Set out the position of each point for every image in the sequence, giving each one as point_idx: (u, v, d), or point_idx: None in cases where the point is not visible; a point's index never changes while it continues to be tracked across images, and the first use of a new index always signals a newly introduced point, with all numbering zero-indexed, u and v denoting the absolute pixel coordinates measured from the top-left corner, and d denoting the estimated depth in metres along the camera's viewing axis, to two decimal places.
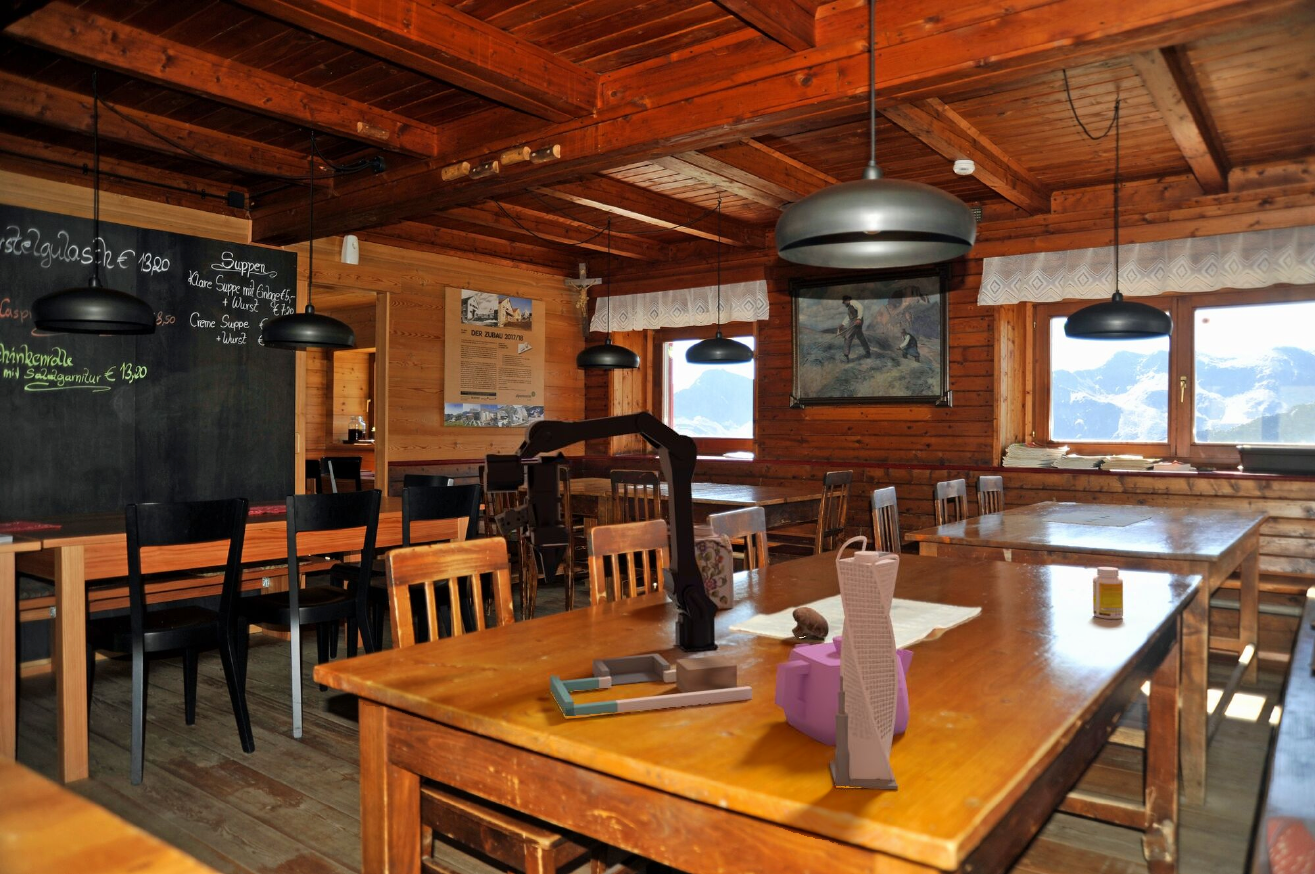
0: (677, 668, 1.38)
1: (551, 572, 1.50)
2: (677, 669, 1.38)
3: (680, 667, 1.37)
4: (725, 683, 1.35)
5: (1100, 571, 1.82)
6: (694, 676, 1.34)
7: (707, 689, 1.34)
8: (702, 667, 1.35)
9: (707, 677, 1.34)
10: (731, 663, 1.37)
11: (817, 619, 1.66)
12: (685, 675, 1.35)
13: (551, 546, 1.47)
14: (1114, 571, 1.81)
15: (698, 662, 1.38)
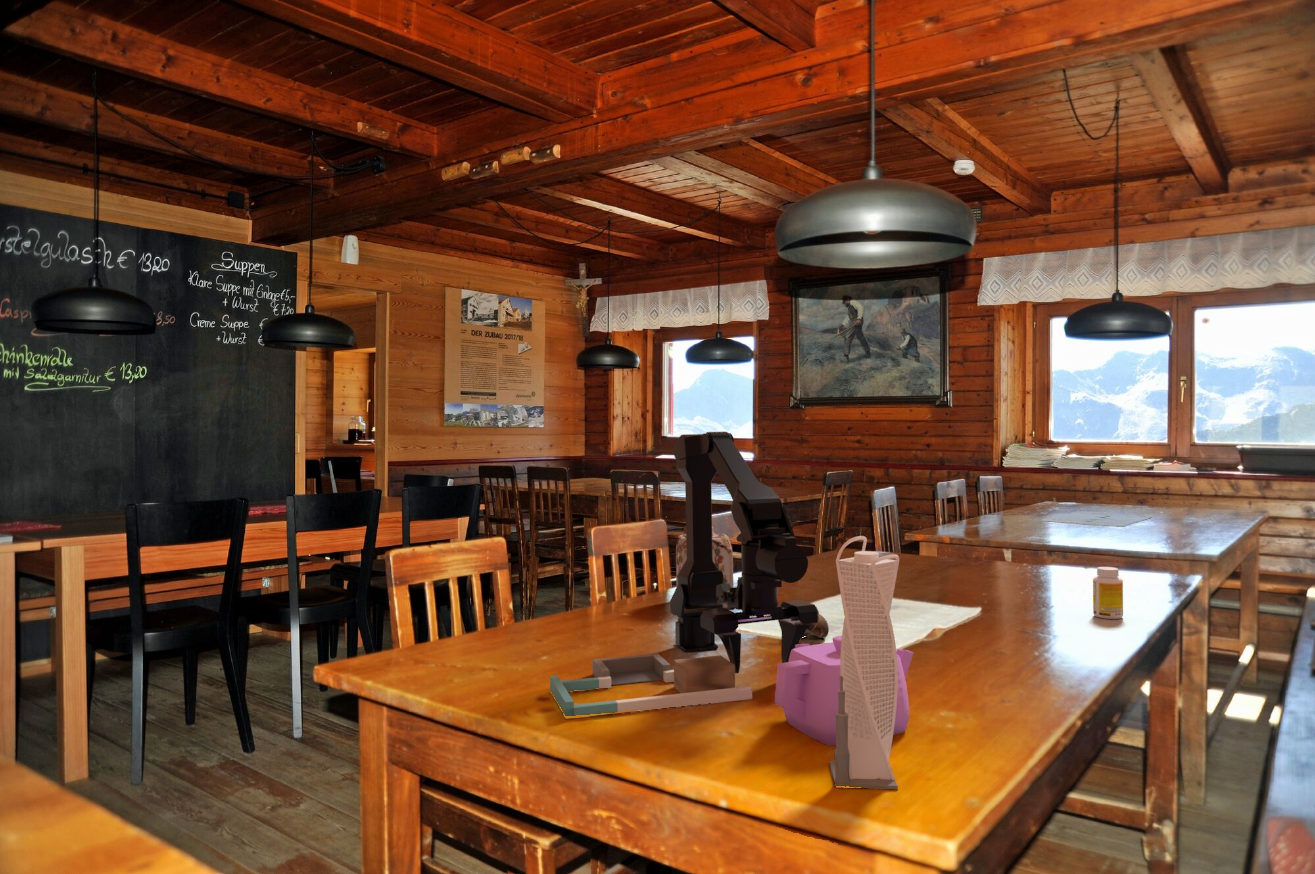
0: (675, 668, 1.38)
1: (732, 662, 1.38)
2: (675, 669, 1.38)
3: (678, 667, 1.37)
4: (724, 683, 1.35)
5: (1100, 571, 1.82)
6: (692, 676, 1.34)
7: (705, 689, 1.34)
8: (700, 667, 1.35)
9: (705, 677, 1.34)
10: (729, 663, 1.37)
11: None
12: (683, 675, 1.34)
13: None
14: (1114, 571, 1.81)
15: (696, 662, 1.37)
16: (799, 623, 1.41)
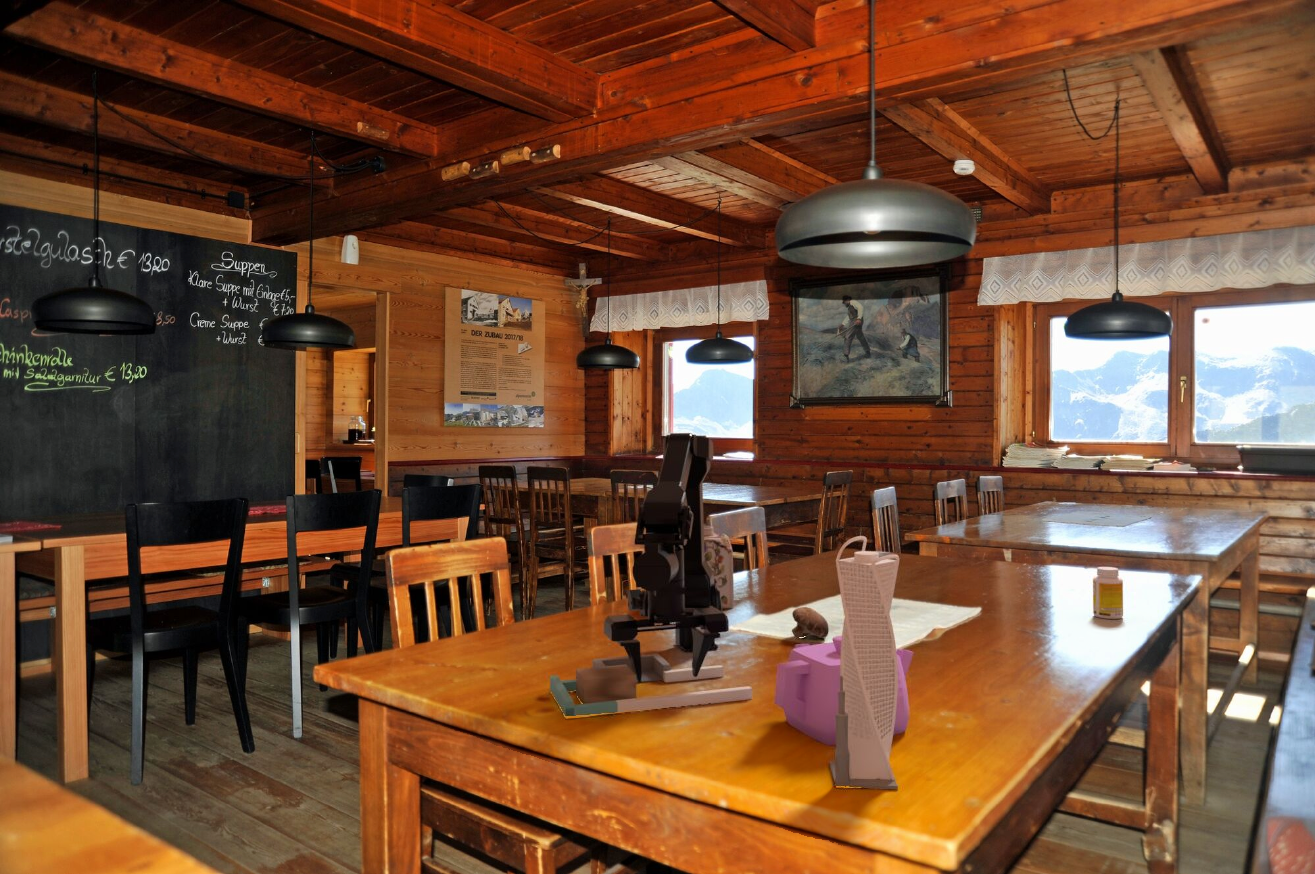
0: (577, 678, 1.34)
1: (634, 670, 1.34)
2: (576, 679, 1.34)
3: (578, 677, 1.33)
4: (624, 693, 1.31)
5: (1100, 571, 1.82)
6: (591, 686, 1.29)
7: (604, 700, 1.30)
8: (599, 677, 1.30)
9: (604, 687, 1.30)
10: (630, 672, 1.32)
11: (816, 619, 1.66)
12: (582, 685, 1.30)
13: None
14: (1114, 571, 1.81)
15: (597, 671, 1.33)
16: (709, 632, 1.36)
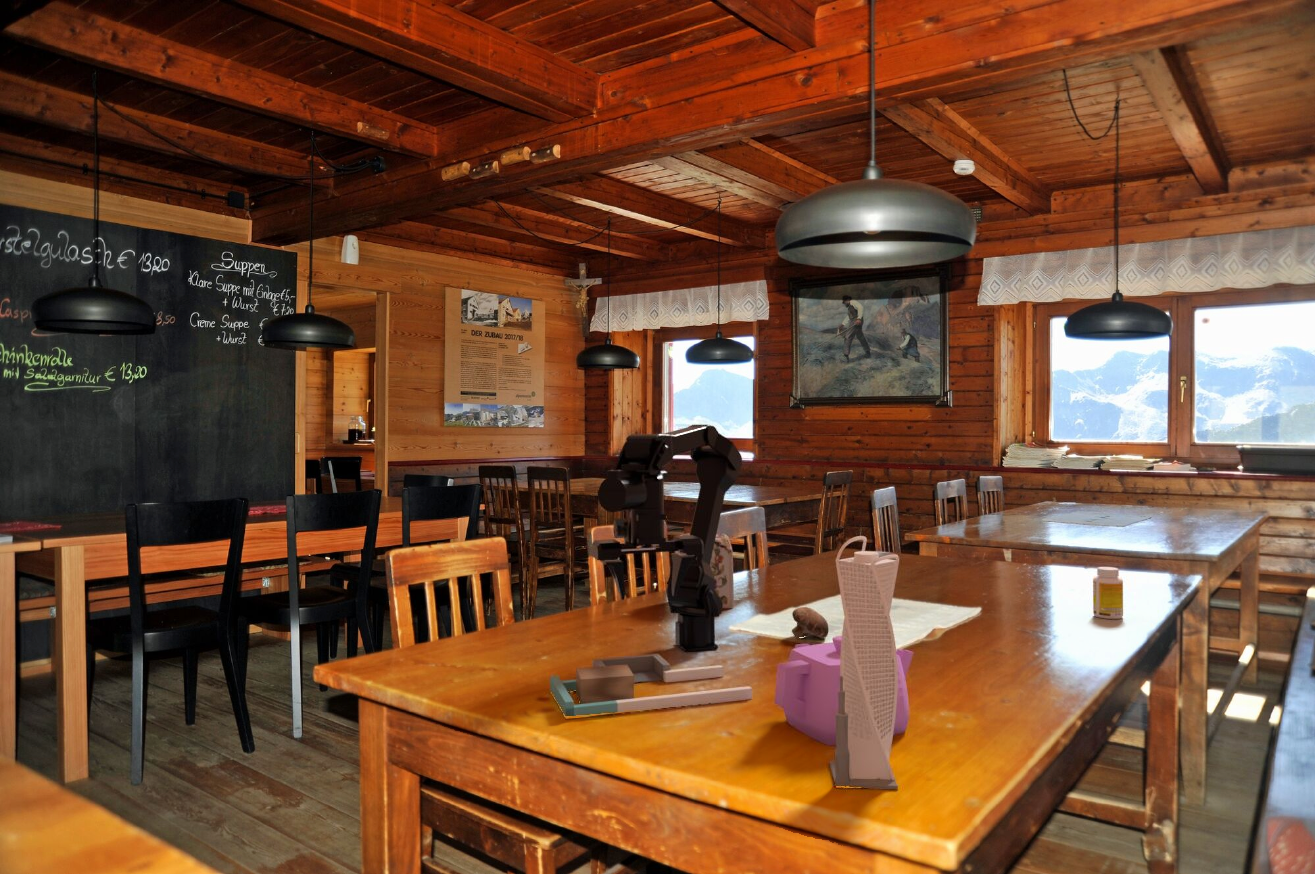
0: (576, 676, 1.34)
1: (618, 589, 1.48)
2: (576, 678, 1.35)
3: (577, 676, 1.33)
4: (622, 694, 1.31)
5: (1100, 571, 1.82)
6: (588, 686, 1.30)
7: (601, 699, 1.30)
8: (597, 677, 1.30)
9: (602, 687, 1.30)
10: (629, 673, 1.32)
11: (816, 619, 1.66)
12: (579, 684, 1.31)
13: (602, 560, 1.48)
14: (1114, 571, 1.81)
15: (596, 671, 1.33)
16: (686, 555, 1.50)
